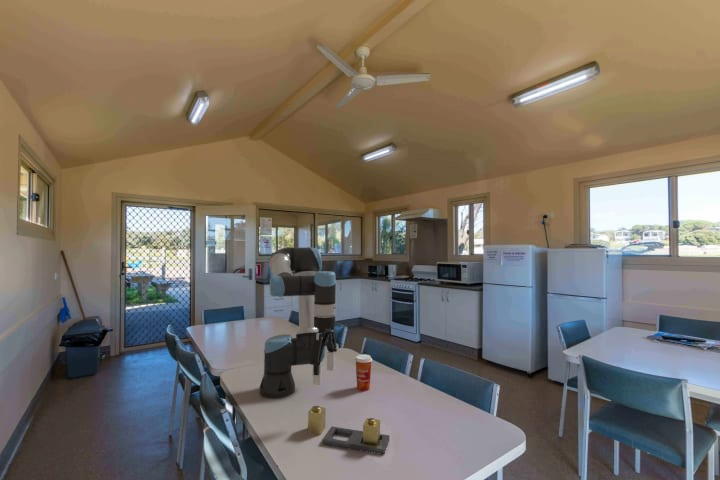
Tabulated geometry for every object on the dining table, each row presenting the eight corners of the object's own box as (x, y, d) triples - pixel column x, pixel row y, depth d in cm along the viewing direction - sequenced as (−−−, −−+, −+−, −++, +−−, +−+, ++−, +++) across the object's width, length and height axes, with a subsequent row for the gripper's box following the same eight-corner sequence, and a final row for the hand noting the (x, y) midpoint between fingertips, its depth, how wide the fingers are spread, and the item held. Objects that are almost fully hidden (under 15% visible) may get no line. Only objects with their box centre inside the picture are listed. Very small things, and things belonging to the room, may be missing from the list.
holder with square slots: (322, 444, 107) (323, 419, 108) (331, 431, 115) (331, 407, 115) (384, 454, 102) (384, 428, 102) (389, 440, 110) (389, 416, 110)
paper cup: (351, 389, 149) (351, 357, 149) (359, 383, 156) (360, 353, 156) (367, 393, 145) (367, 360, 146) (375, 387, 152) (375, 355, 152)
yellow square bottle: (308, 433, 114) (308, 409, 114) (313, 426, 118) (313, 403, 118) (320, 435, 113) (320, 411, 113) (325, 428, 117) (325, 405, 117)
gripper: (322, 323, 106) (321, 392, 105) (345, 310, 130) (344, 365, 129) (300, 322, 107) (299, 389, 107) (326, 309, 132) (326, 364, 131)
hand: (324, 376), depth 118 cm, fingers open, 13 cm apart
